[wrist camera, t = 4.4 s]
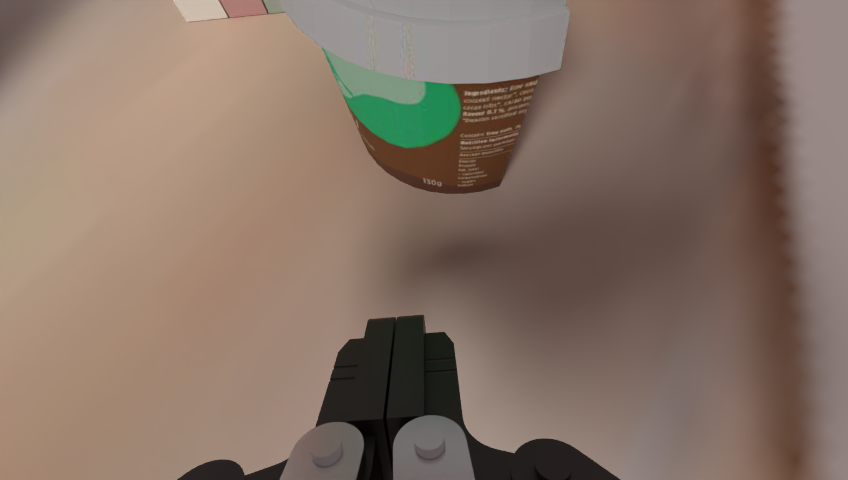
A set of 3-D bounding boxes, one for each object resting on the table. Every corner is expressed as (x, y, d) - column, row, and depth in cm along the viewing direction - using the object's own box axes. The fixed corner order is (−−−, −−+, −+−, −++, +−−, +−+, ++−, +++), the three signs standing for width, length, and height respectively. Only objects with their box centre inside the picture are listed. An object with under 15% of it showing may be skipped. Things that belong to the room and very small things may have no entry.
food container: (309, 60, 22) (206, -200, 12) (417, 27, 22) (394, -247, 13) (378, 262, 17) (292, 82, 8) (514, 213, 17) (586, -11, 8)
